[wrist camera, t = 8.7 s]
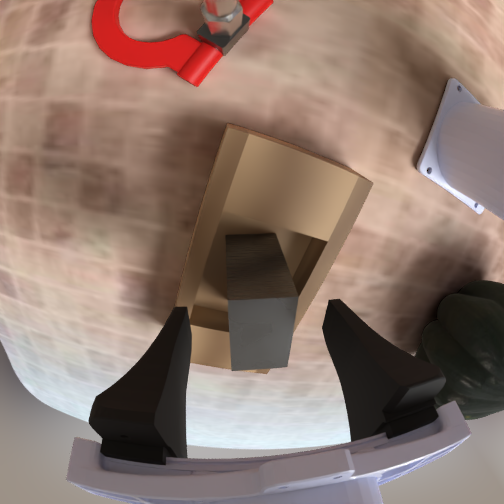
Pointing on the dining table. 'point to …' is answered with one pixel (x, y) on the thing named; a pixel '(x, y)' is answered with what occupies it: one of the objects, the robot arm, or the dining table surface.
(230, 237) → the grey rectangular prism
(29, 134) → the dining table surface
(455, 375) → the squash
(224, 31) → the tow hook
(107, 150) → the dining table surface
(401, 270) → the dining table surface
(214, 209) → the open wooden tray
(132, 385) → the robot arm
